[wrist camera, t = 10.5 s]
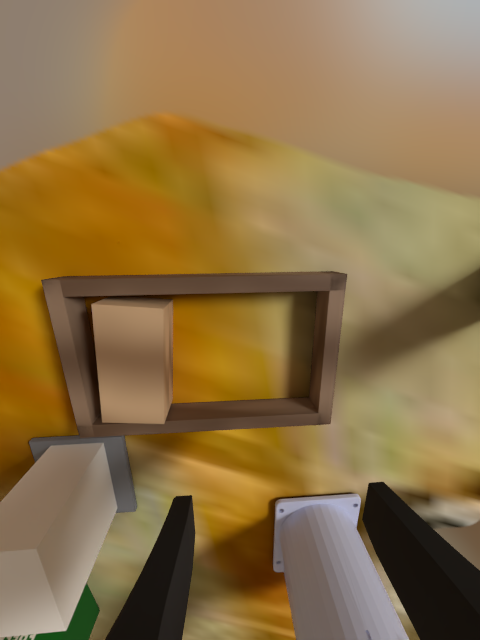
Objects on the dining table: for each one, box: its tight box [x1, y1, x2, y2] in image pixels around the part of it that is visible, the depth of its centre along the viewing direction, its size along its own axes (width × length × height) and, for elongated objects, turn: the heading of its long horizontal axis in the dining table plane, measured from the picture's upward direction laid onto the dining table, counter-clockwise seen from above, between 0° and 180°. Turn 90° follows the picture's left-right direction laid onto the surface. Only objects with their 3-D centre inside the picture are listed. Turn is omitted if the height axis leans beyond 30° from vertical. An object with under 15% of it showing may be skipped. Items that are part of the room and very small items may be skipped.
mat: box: [29, 435, 137, 513], centre depth 20 cm, size 8×7×1 cm
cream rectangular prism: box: [0, 443, 117, 637], centre depth 16 cm, size 7×4×7 cm, turn 1°
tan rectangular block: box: [91, 296, 173, 424], centre depth 16 cm, size 8×4×3 cm, turn 175°
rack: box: [41, 271, 347, 438], centre depth 17 cm, size 11×18×2 cm, turn 91°
